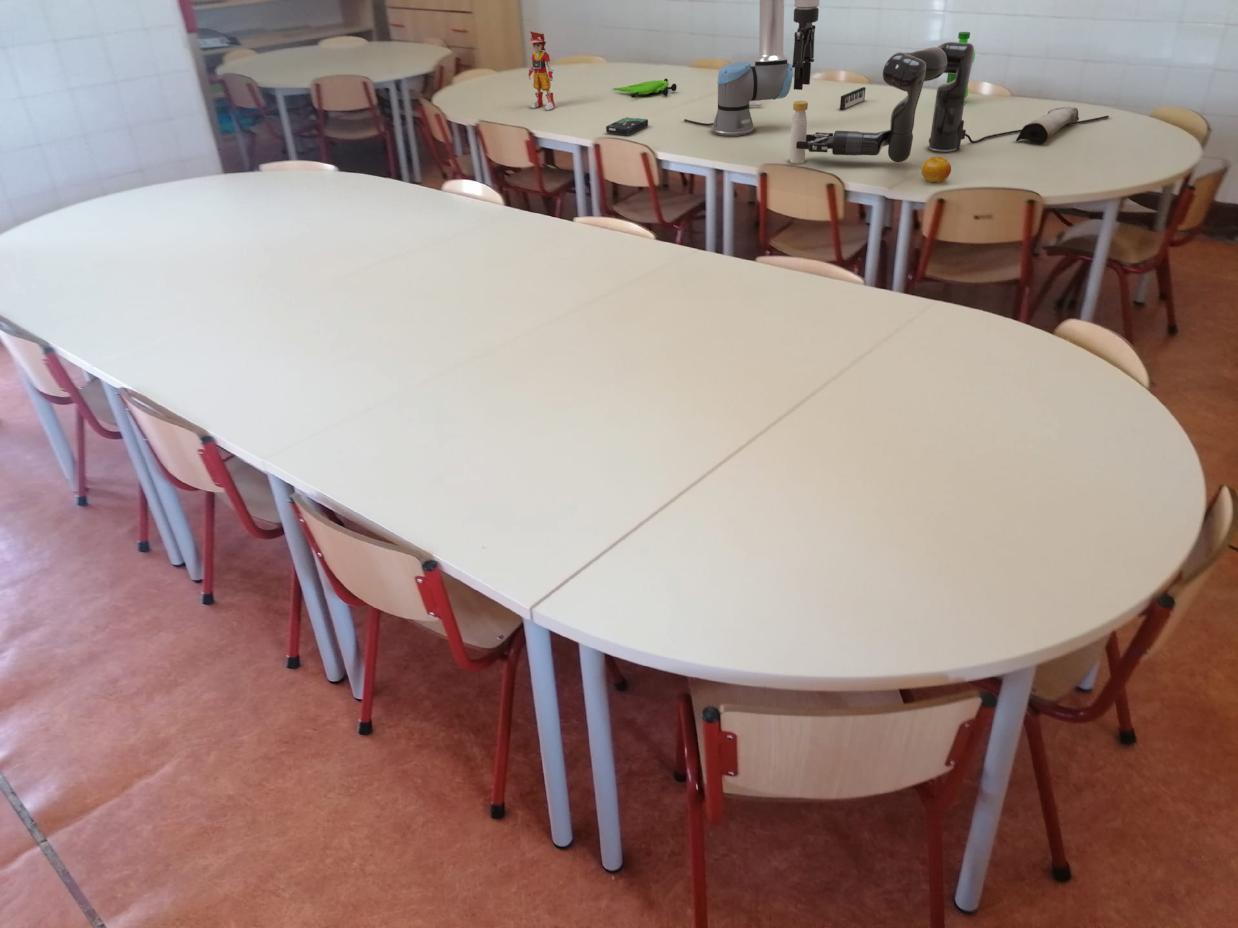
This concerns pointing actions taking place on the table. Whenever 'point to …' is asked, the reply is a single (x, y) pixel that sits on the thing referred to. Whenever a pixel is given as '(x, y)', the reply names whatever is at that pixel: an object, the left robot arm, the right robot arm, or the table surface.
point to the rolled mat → (1048, 125)
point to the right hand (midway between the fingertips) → (798, 141)
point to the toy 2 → (648, 88)
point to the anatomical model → (754, 103)
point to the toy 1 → (541, 71)
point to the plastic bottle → (962, 39)
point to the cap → (800, 105)
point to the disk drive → (627, 126)
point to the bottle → (798, 136)
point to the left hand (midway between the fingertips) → (801, 86)
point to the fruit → (936, 169)
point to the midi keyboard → (852, 98)
